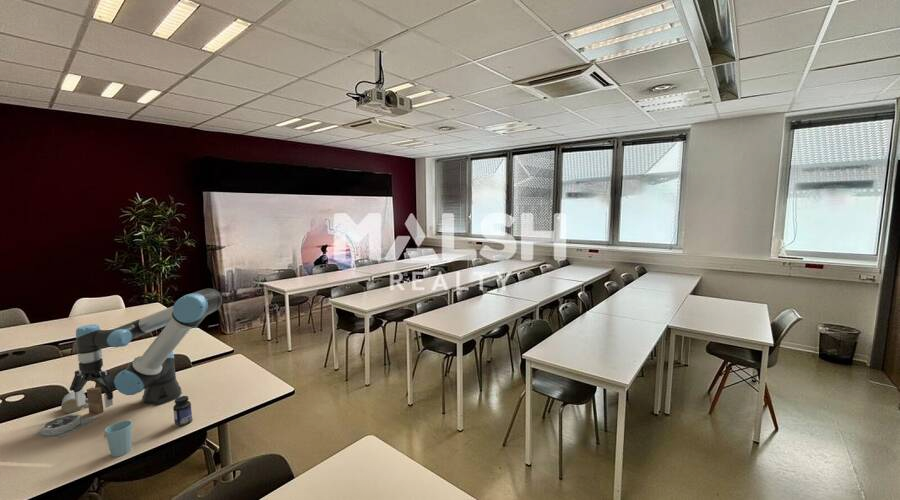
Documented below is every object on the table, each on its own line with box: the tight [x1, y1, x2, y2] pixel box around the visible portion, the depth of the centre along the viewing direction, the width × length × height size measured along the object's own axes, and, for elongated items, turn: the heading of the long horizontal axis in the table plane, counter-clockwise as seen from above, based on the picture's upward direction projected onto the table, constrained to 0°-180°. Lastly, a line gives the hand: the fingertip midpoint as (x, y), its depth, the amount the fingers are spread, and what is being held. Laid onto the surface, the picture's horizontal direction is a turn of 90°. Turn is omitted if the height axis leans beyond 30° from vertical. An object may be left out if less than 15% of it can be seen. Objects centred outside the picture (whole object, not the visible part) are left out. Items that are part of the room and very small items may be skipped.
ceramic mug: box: [60, 391, 89, 414], centre depth 168 cm, size 11×8×8 cm
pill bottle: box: [172, 395, 193, 427], centre depth 156 cm, size 6×6×11 cm
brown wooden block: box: [86, 387, 104, 415], centre depth 163 cm, size 2×4×12 cm, turn 86°
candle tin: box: [40, 413, 82, 436], centre depth 152 cm, size 11×11×3 cm
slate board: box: [32, 416, 98, 438], centre depth 153 cm, size 13×14×1 cm
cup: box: [104, 420, 133, 458], centre depth 137 cm, size 8×8×10 cm
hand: (95, 405), depth 164 cm, fingers open, 13 cm apart
